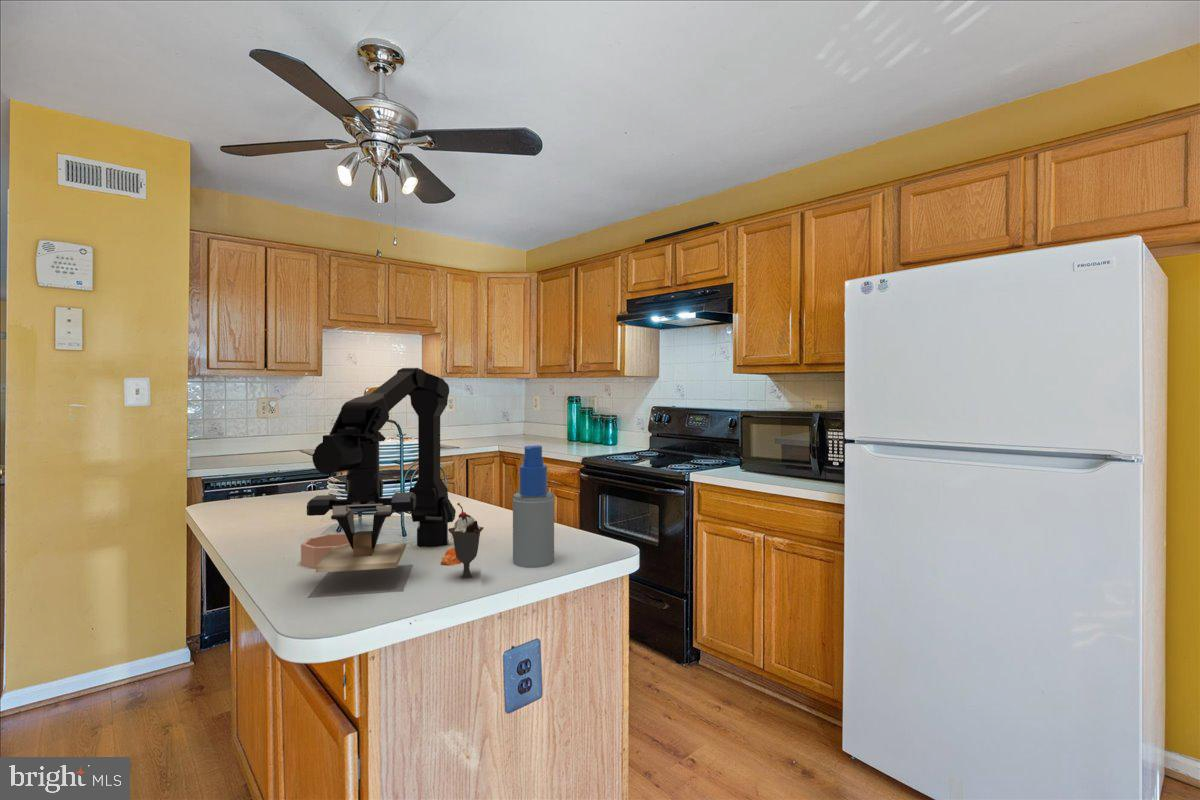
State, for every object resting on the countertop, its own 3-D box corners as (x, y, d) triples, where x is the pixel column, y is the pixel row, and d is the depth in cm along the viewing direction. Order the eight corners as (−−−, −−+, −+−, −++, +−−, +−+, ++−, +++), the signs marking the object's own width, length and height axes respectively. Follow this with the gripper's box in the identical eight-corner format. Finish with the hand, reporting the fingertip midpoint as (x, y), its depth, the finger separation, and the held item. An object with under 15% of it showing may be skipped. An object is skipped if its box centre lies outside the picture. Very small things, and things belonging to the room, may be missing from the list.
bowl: (367, 554, 130) (367, 532, 130) (356, 570, 118) (356, 545, 118) (311, 557, 127) (311, 534, 127) (295, 573, 116) (295, 549, 116)
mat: (413, 568, 119) (413, 564, 119) (403, 595, 104) (403, 591, 104) (330, 573, 116) (330, 569, 116) (307, 602, 100) (307, 597, 100)
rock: (415, 576, 117) (415, 555, 117) (435, 558, 129) (435, 539, 129) (474, 576, 116) (474, 555, 116) (488, 559, 128) (488, 540, 128)
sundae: (451, 575, 115) (451, 500, 115) (485, 574, 115) (485, 500, 115) (445, 586, 108) (445, 507, 108) (481, 585, 109) (481, 506, 109)
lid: (405, 547, 118) (405, 523, 118) (396, 567, 104) (396, 540, 104) (334, 551, 115) (334, 526, 115) (315, 572, 102) (315, 544, 102)
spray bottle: (535, 552, 131) (535, 443, 130) (562, 560, 125) (562, 445, 124) (504, 561, 124) (504, 446, 124) (531, 570, 118) (530, 448, 118)
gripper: (418, 460, 119) (419, 535, 119) (321, 462, 115) (322, 540, 116) (412, 467, 108) (413, 550, 109) (305, 470, 104) (306, 556, 105)
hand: (363, 548), depth 110 cm, fingers closed on lid, 3 cm apart
